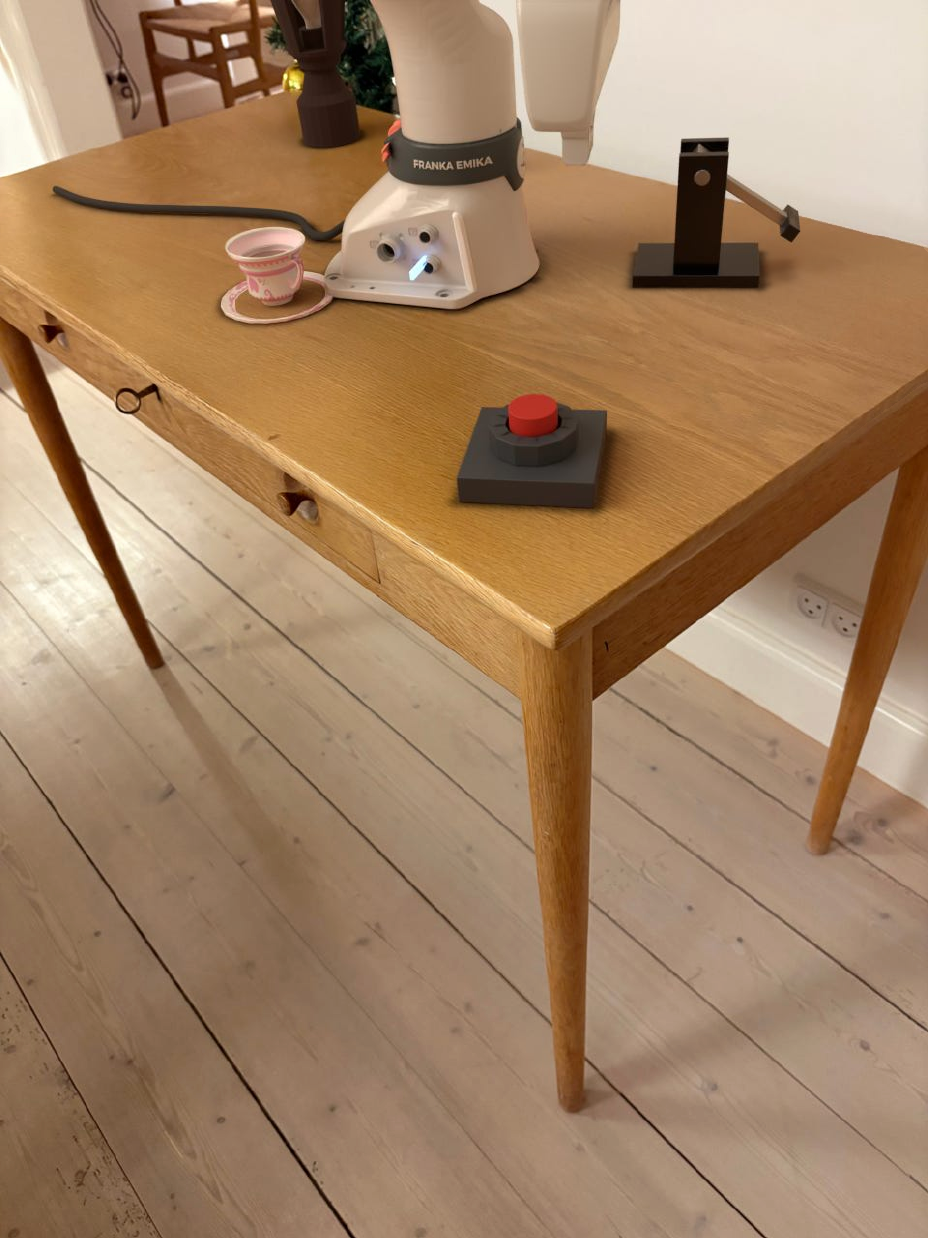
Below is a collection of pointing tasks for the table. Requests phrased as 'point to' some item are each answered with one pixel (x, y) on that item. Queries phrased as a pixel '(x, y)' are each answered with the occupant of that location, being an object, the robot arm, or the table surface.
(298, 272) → the teacup
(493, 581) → the table surface
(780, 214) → the lever
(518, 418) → the button
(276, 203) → the table surface
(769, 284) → the table surface
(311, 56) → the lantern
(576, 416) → the button box
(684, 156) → the bracket
